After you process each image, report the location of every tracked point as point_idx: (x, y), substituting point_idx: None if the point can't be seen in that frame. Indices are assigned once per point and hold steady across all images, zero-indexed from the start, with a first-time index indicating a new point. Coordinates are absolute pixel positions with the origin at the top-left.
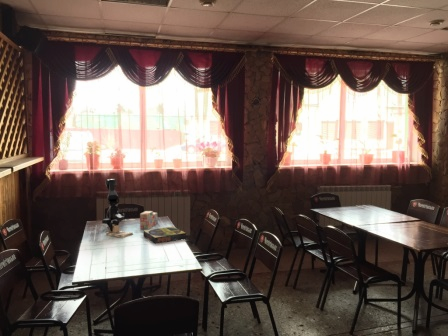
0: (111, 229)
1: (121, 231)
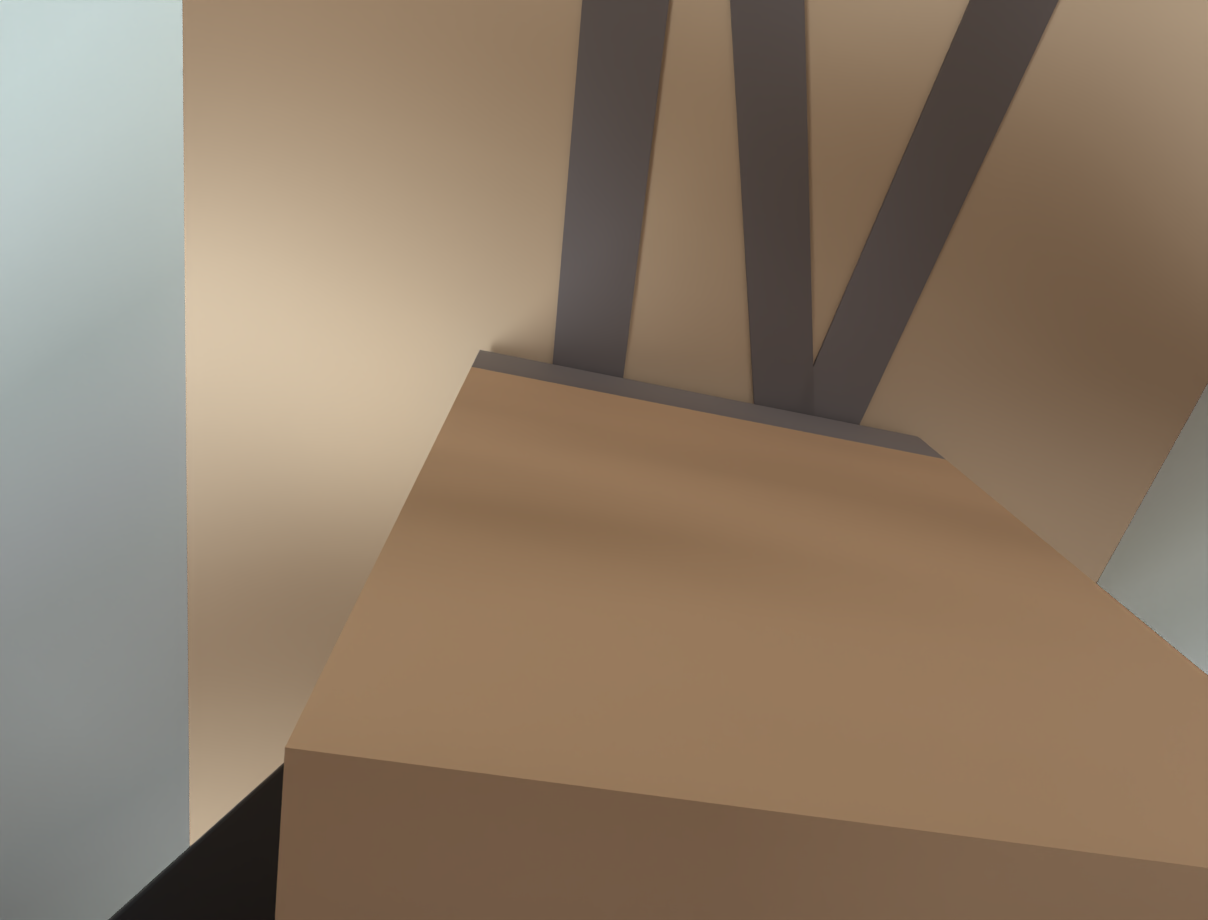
0: None
1: (321, 267)
